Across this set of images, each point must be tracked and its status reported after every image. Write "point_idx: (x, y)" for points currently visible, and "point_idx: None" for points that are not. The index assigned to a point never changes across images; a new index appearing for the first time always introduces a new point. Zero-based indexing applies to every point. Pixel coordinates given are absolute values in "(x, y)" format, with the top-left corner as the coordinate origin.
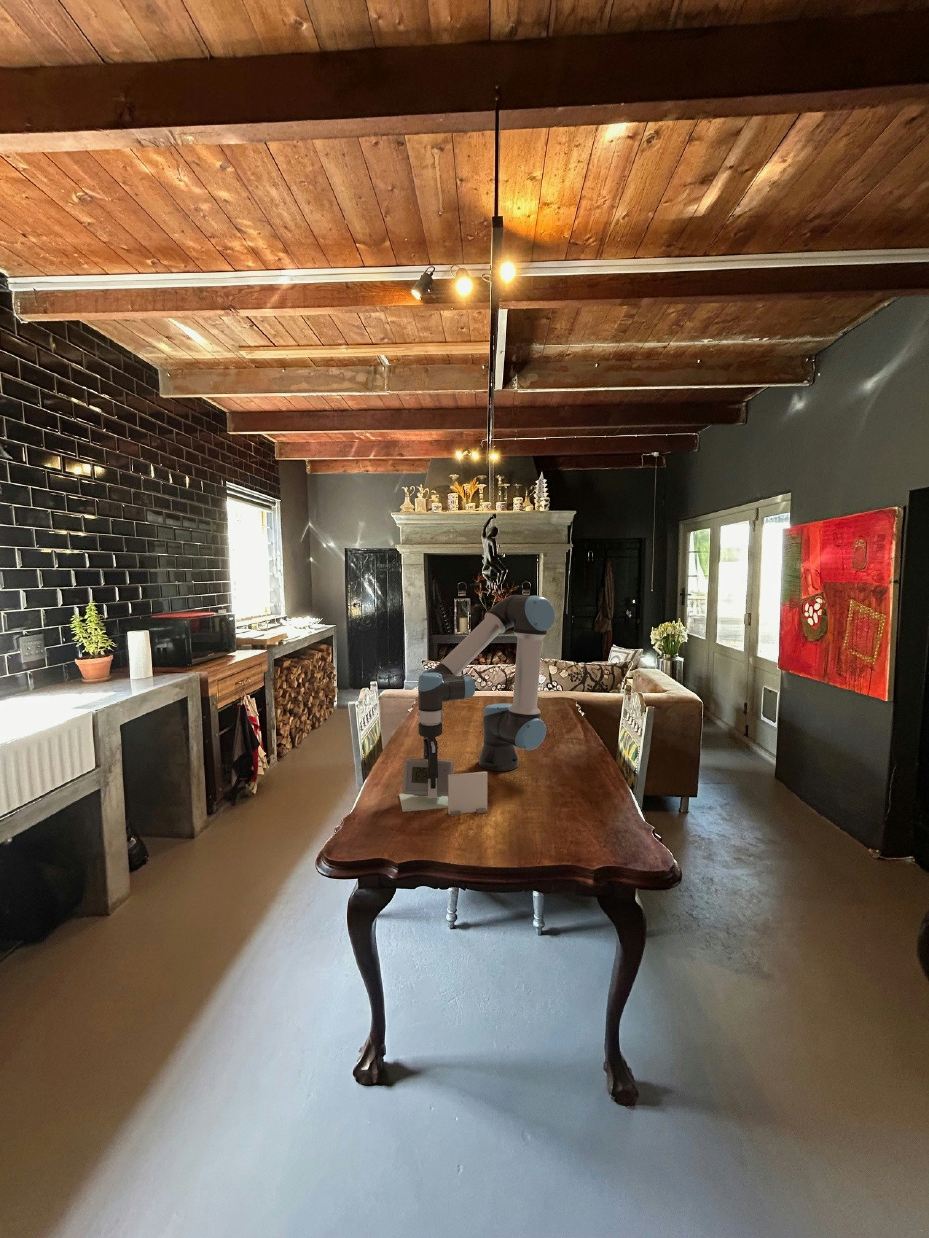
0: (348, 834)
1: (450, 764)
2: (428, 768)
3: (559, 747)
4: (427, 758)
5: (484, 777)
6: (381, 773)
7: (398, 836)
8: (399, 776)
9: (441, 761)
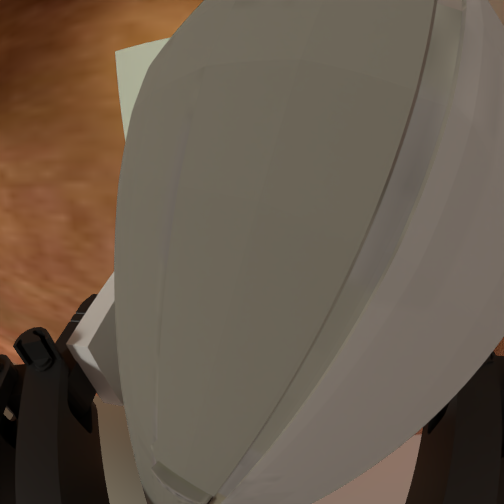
0: (420, 429)
1: None
2: (414, 482)
3: None
4: (94, 487)
5: None
6: (19, 363)
7: (499, 344)
8: (15, 323)
9: (336, 485)
